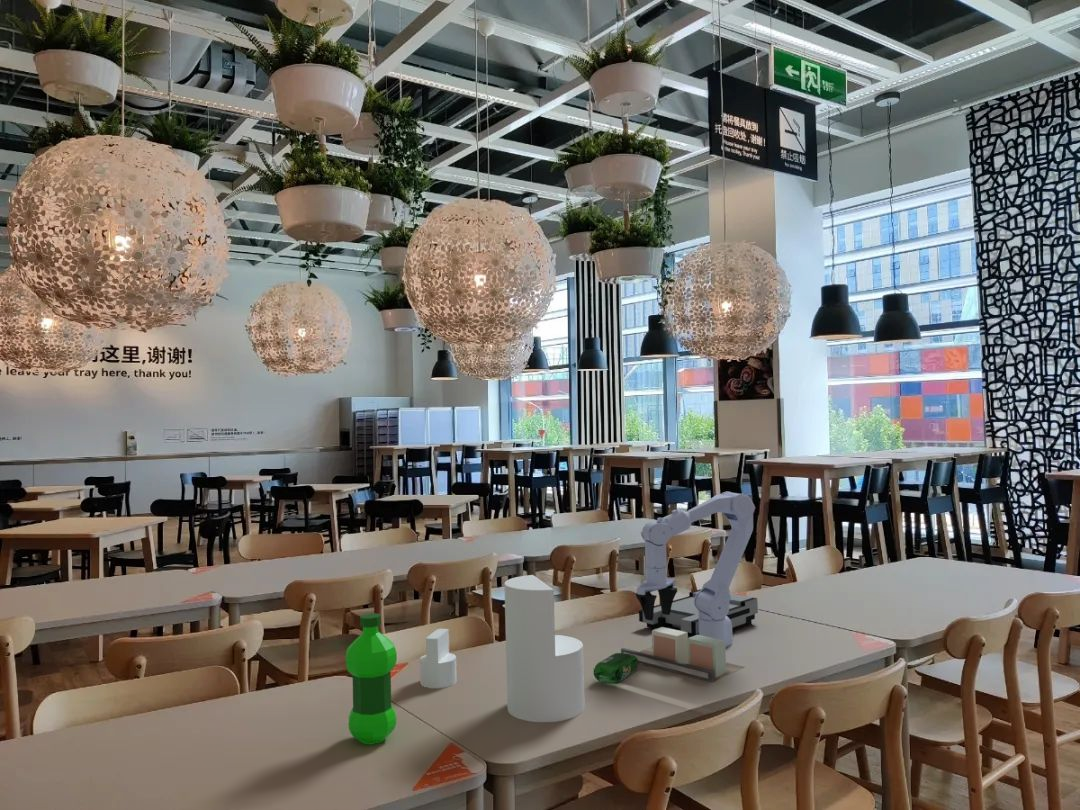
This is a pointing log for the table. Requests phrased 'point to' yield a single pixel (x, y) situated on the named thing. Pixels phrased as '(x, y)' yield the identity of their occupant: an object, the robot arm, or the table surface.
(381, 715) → the plastic bottle
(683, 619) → the game console
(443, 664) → the white stepped half-round block
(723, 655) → the sage carton
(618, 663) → the snack package
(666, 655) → the cream carton
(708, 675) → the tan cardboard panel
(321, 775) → the table surface
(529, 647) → the white stepped round block
